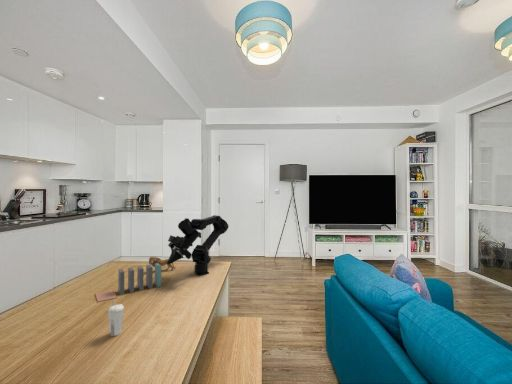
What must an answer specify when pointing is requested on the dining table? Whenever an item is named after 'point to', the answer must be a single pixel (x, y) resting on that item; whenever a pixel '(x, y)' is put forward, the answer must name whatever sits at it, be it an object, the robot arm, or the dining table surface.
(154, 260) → the lion figurine
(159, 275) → the domino
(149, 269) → the domino
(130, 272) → the domino
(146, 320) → the dining table surface
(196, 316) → the dining table surface
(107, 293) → the strip
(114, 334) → the milkshake
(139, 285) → the domino
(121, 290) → the domino
